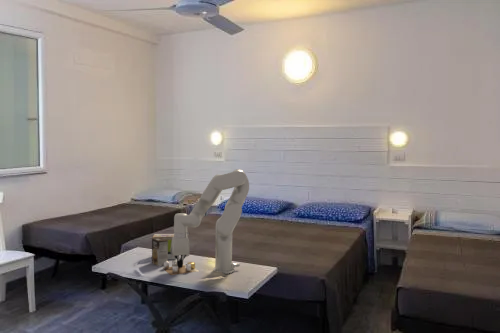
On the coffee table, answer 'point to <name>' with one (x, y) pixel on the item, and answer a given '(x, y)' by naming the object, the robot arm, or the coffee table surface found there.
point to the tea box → (169, 238)
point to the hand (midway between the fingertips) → (179, 266)
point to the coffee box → (159, 251)
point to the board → (180, 270)
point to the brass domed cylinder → (192, 265)
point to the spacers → (176, 266)
